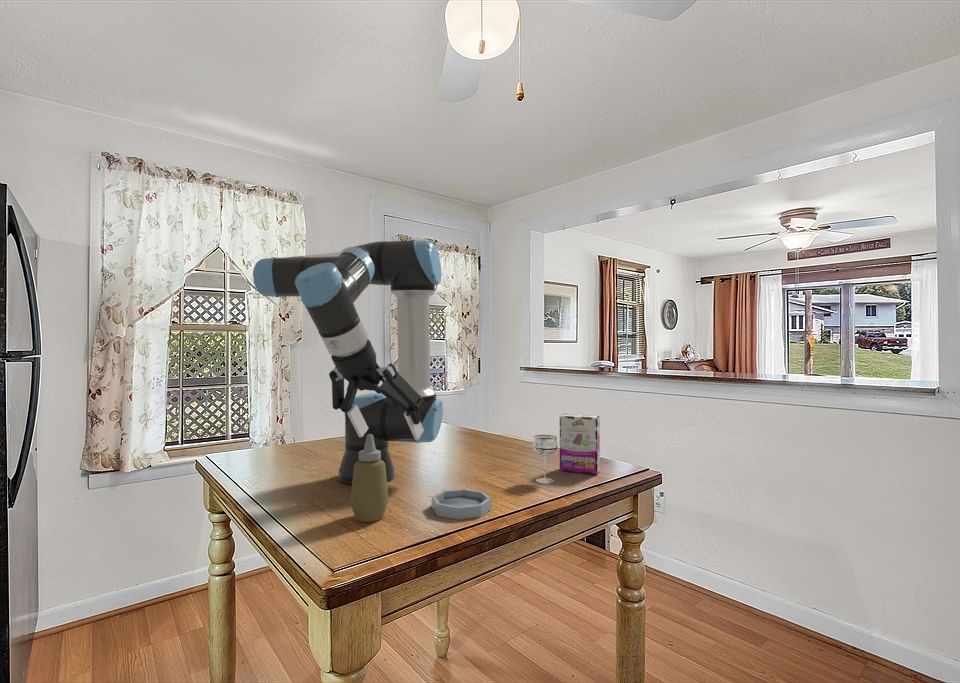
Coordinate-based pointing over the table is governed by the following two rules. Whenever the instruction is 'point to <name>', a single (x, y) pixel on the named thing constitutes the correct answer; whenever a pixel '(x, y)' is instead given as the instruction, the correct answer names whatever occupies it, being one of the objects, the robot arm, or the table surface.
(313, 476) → the table surface
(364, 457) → the squeeze bottle
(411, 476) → the table surface
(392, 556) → the table surface
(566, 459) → the candy bar box
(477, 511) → the octagonal tray
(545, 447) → the wineglass
